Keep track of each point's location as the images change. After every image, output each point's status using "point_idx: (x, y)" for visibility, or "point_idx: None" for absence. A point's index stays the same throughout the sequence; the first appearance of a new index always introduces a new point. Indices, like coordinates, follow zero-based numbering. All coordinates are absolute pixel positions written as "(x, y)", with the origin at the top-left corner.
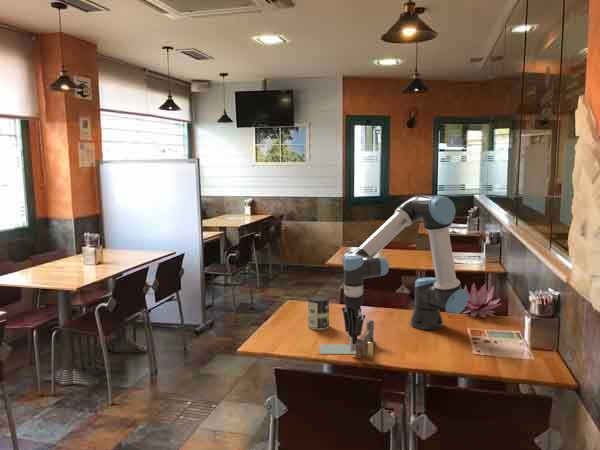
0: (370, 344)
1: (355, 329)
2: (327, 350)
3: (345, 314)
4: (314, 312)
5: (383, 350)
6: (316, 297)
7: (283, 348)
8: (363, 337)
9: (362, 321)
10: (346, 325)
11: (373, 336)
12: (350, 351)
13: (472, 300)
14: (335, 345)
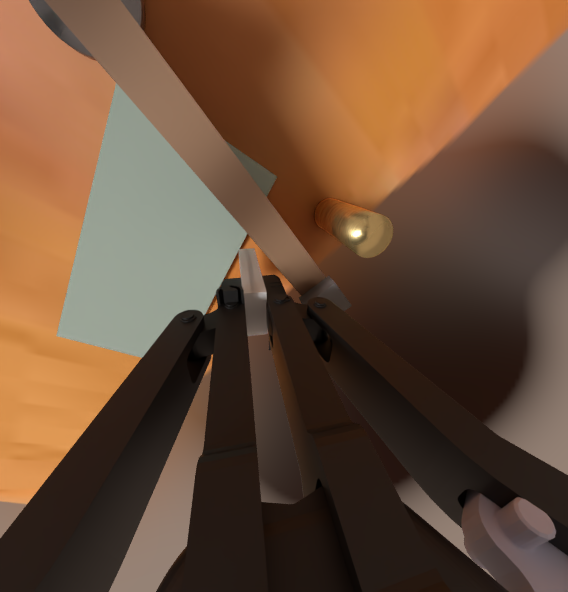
0: (383, 244)
1: (340, 380)
2: (153, 332)
3: (112, 569)
4: None
5: (271, 12)
6: None
7: (77, 439)
8: (263, 215)
9: (471, 429)
10: (192, 398)
11: None
12: (206, 248)
13: None
14: (90, 274)
